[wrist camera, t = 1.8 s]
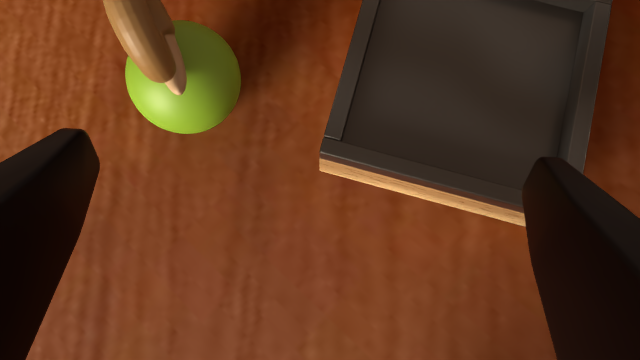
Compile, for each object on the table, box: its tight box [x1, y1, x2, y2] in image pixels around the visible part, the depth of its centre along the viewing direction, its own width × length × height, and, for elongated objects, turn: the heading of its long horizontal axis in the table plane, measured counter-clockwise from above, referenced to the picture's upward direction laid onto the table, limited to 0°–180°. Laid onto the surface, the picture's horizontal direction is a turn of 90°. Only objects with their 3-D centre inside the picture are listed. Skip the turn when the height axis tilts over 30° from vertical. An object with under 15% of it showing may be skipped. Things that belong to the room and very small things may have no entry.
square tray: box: [320, 0, 612, 227], centre depth 22 cm, size 12×12×4 cm
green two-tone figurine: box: [103, 0, 241, 134], centre depth 19 cm, size 5×6×12 cm
